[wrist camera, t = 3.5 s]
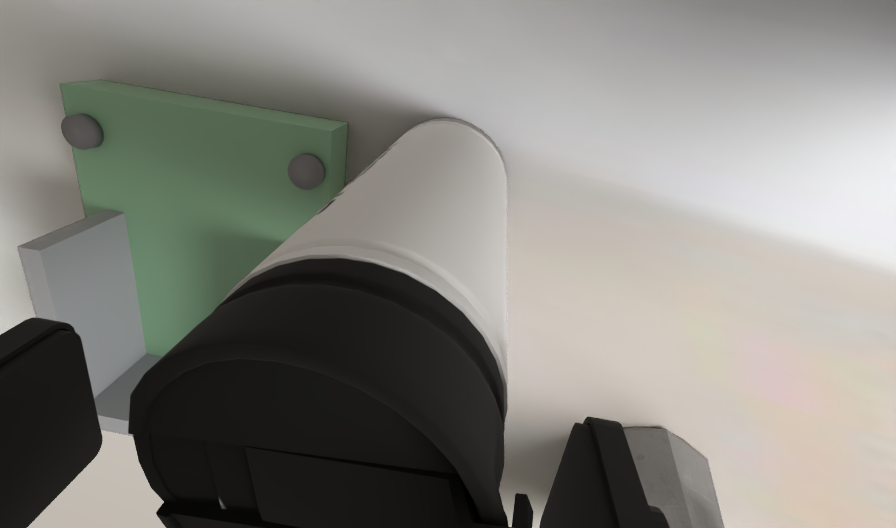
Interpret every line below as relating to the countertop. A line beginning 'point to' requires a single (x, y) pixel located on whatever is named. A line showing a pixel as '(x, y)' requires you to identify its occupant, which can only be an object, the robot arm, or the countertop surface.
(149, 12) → the countertop surface
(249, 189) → the green backplate cradle
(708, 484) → the coffeepot
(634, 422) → the countertop surface
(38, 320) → the robot arm
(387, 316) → the travel mug
